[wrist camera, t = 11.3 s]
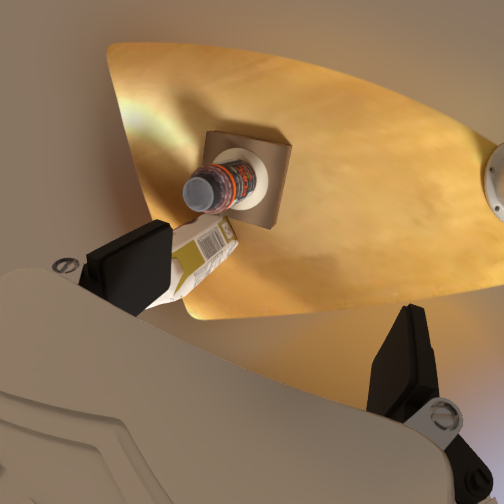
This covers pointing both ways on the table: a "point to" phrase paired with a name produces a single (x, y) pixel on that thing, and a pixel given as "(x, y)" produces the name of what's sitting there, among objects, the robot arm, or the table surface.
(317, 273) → the table surface
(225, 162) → the supplement bottle
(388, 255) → the table surface
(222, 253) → the juice carton
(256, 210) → the walnut stand
